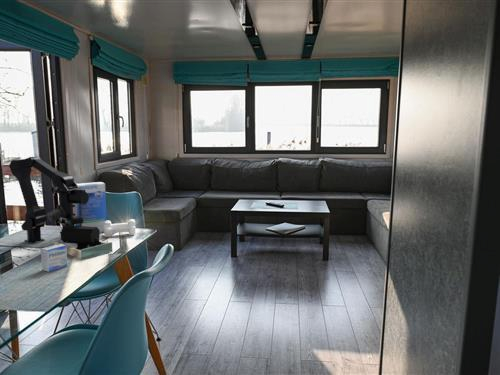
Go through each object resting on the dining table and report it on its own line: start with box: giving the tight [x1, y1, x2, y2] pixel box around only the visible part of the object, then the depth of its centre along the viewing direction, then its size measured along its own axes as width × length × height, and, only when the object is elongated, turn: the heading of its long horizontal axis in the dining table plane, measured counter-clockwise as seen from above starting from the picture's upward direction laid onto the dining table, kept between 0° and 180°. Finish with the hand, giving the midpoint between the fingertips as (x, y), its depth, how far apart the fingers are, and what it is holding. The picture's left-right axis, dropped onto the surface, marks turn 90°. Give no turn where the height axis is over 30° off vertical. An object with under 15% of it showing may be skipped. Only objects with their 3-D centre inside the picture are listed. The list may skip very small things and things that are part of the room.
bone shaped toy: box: [103, 218, 136, 238], centre depth 196 cm, size 15×9×8 cm, turn 108°
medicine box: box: [40, 243, 68, 273], centre depth 149 cm, size 8×4×9 cm, turn 148°
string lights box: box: [76, 181, 108, 234], centre depth 199 cm, size 13×8×26 cm, turn 124°
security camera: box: [60, 225, 103, 250], centre depth 172 cm, size 7×18×10 cm, turn 81°
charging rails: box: [52, 240, 113, 260], centre depth 172 cm, size 24×14×4 cm, turn 53°
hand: (67, 235), depth 179 cm, fingers closed
